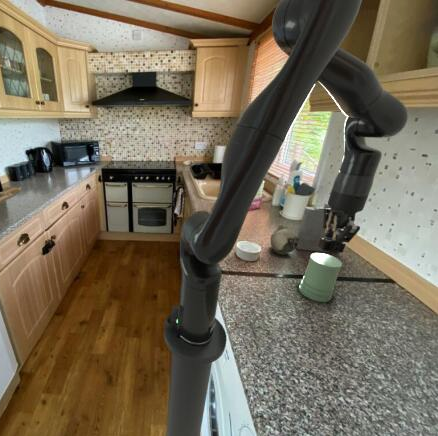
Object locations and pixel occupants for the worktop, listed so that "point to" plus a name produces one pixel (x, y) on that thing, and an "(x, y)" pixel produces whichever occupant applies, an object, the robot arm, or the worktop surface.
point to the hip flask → (312, 228)
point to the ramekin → (248, 250)
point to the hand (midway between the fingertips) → (329, 248)
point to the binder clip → (326, 242)
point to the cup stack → (320, 277)
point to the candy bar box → (257, 198)
